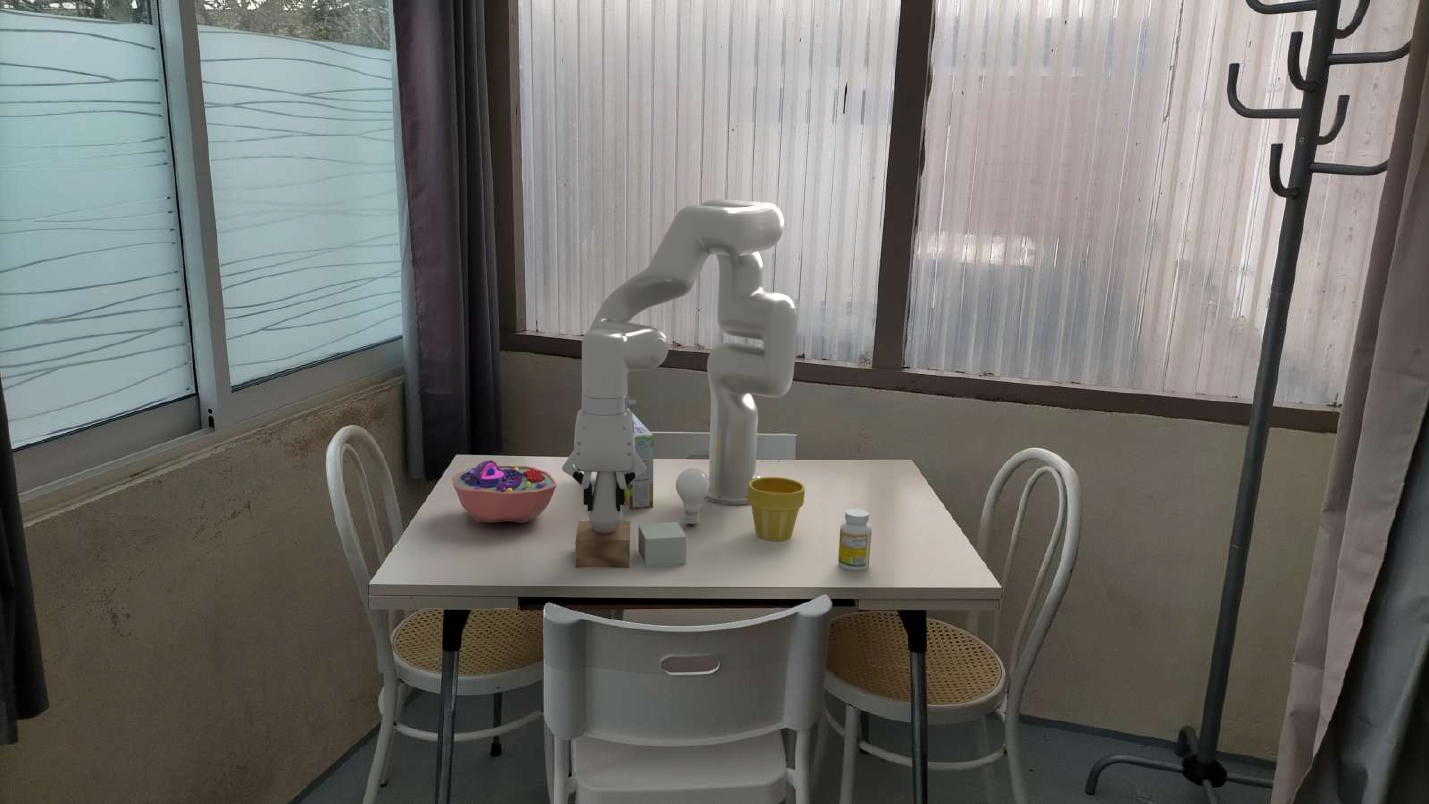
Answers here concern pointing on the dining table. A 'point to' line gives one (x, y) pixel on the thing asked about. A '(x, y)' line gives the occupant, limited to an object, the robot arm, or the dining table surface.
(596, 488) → the salt shaker
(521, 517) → the cell model
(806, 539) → the dining table surface
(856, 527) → the supplement bottle
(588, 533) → the walnut block
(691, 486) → the lightbulb
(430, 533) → the dining table surface
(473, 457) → the dining table surface
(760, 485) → the plant pot
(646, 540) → the sage block
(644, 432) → the snack box
